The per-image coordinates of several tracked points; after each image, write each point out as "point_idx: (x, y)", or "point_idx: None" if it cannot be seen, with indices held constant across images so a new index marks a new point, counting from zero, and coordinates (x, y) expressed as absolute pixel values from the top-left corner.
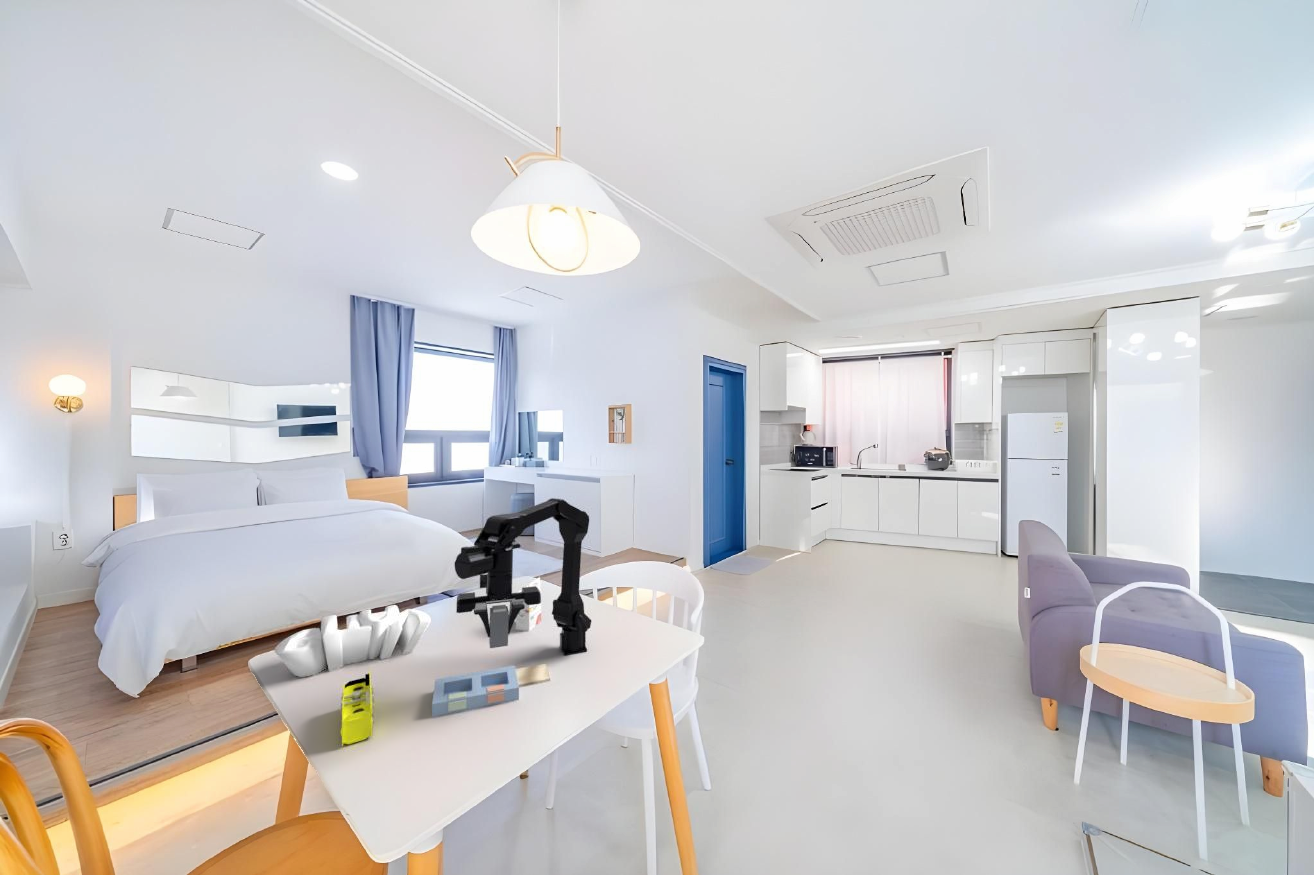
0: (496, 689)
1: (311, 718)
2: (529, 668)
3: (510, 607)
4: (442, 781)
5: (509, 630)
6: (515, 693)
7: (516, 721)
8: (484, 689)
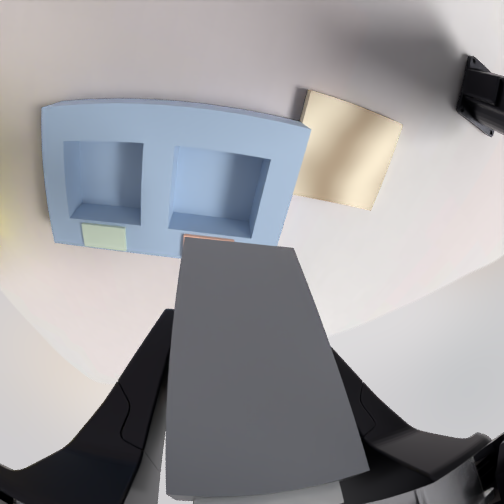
0: None
1: None
2: (356, 119)
3: (354, 483)
4: (123, 356)
5: None
6: None
7: None
8: (176, 235)
